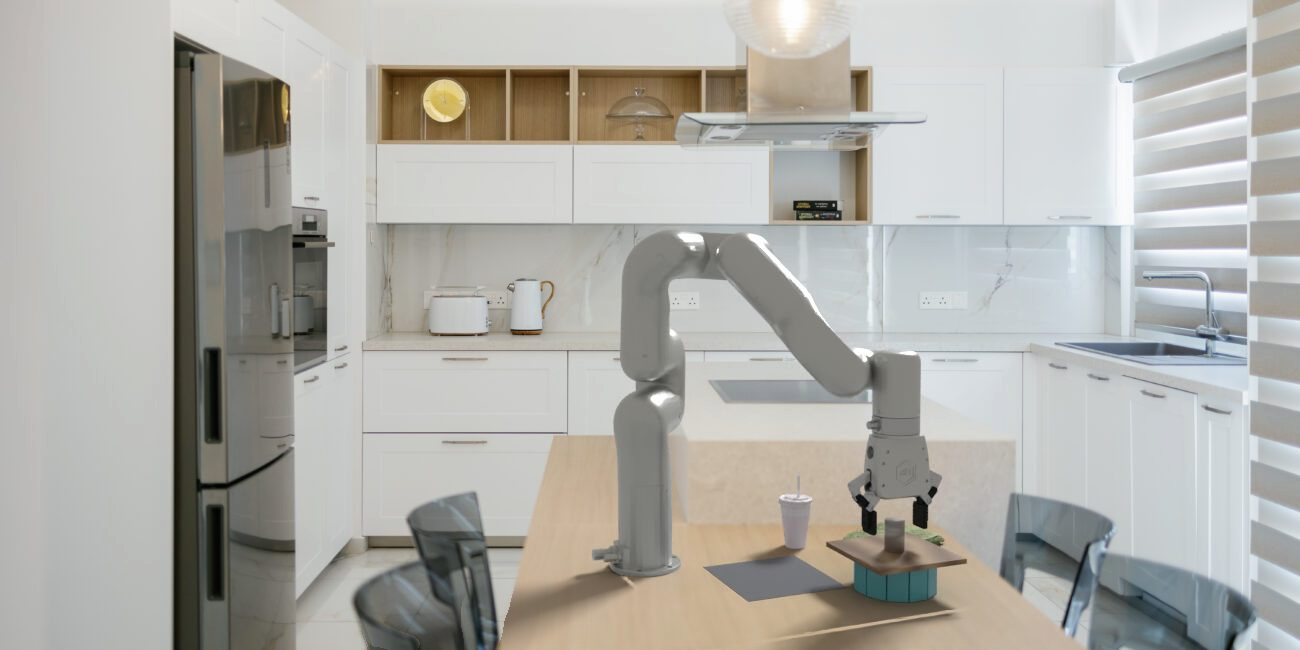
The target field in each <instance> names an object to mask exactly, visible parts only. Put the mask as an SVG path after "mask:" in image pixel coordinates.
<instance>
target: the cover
mask: <svg viewBox="0 0 1300 650" xmlns="http://www.w3.org/2000/svg"><path fill="white" fill-rule="evenodd" d="M884 522H885V531H884V535H876V536H868V537H860V538H852V539H844V540H843V539H838V540H837V539H836V540H829V541H826V542H825V547H827V548H828V549H830V550H832V551H834V552H835V553H838V554H840V555H841V556H843V557H845V558H847V559H848V560H850V561H852V562H853V563H854V562H856V563H858V564H859V565H861V566H863V567H865V568H867V569H869V570H870V571H872V572H874V573H876V574H878V575H880V576H883V575H890V574H897V573H905V572H912V571H919V570H926V569H933V568H937V569H938V568H946V567H953V566H961V565H967V564H968V558H966V557H964V556H962V555H959V554H957V553H955V552H953V551H951V550H949V549H946V548H944V547H942V546H939V545H935V544H933V543H931V542H928V541H926V540H924V539H922V538H919V537H917V536H915V535H913V534H911V533H908V532H905V526H906V525H905V524H906V520H905V519H904V518H901V517H895V516H890V517H885V518H884Z"/></svg>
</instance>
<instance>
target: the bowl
mask: <svg viewBox="0 0 1300 650" xmlns="http://www.w3.org/2000/svg"><path fill="white" fill-rule="evenodd" d="M852 576H853V579H852V580H853V588H854V589H853V590H855V591H856V592H858V593H860V594H862V595H863V596H864V597H868V598H872V599H876V600H880V601H883V602H886V601H887V602H896V603H914V602H915V603H916V602H920V601H922V602H923V601H926V600H929V599H931V598H932V597H933V596H935V595H937V593H938V591H937V590H938V568H933V569H926V570H919V571H912V572H905V573H897V574H890V575H883V576H880V575H878V574H876V573H874V572H872V571H870V570H869V569H867V568H865V567H863V566H861V565H859V564H858V563H856V562H854V561H853V575H852Z"/></svg>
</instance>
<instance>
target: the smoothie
mask: <svg viewBox="0 0 1300 650" xmlns="http://www.w3.org/2000/svg"><path fill="white" fill-rule="evenodd" d="M796 476H797V477H796V483H797V484H796V493H787V494H782V495H780V496H778V504H779V505H780V514H781V521H782V530H783V538H784V546H785V548H788V549H791V550H802V549H805V548H806V546H807V539H808V530H809V522H810V517H811V507H812V505H813V503H814V502H813V501H814V500H813V497H812V496H810V495H807V494H802V493H801V474H797V475H796Z"/></svg>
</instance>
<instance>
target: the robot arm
mask: <svg viewBox="0 0 1300 650" xmlns="http://www.w3.org/2000/svg"><path fill="white" fill-rule="evenodd" d="M683 279H697V280H698V279H699V280H714V281H727V282H728V283H729V284H730V285H731V286H732V287H733V289H735V290H736V291H737V292H738V293H739V294H740V295H741V297H743V298H744V299H745V301H746V302H747V303H748V304H749V305H750V306H751V307H752V308H753V310H755V312H756V313H758V315H759V316H761V318H763V320H764V321H765V322H766V323H767V324H768V325H769V326H770V328H771V329H772V330H773V332H774V333H775V335H776V336H777V337H778V338H779V340H780V341H781V342H782V343H783V345H785V347H786V348H787V350H789V352H790V353H791V355H792V356H793V357H794V359H796V361H797V362H798V363H799V364H800V365H801V366H802V368H803V369H804V370H806V371H807V373H808V374H809V375H810V376H811V377H812V378H813V379H814V381H816V383H818V384H819V385H820V386H821V387H822V388H823V389H824V390H825V391H826V392H827V393H829V394H830V395H832V396H834V397H835V398H839V399H852V398H854V397H857V396H859V395H860V394H861V393H862V392H863V391H872V401H871V402H872V403H871V404H872V408H871V409H872V410H871V411H872V415H871V420H868V421H866V424H865V425H866V429H867V430H871V434H868V439H867V443H866V447H865V448H866V449H865V454H864V455H865V456H864V463H863V464H864V465H863V472H862V473H861V474H859V475H858V476H857V477H855V478H853V479H852V480H851V481H850V482H848V483H847V488H848V489H847V490H848V491H849V494H850V495H851V498H852V500H853V501H854V502H855V503H856V504H857V505H858V507H859V508H861V520H860V521H861V522H860V523H861V528H862V529H861V530H863V531H864V532H866V533H868V534H870V535H872V536H873V535H876V534H877V524H878V512H877V511H876V510H875V508H876V506H877V505H878V504H879V502H880V501H881V500H883V501H884V500H885V501H887V500H896V499H897V500H898V499H908V498H915V500H913V503H912V526H915V527H918V528H921V529H924V530H927V529H928V524H929V523H928V521H929V505H931V504H932V503H933V498H934V497H935V496H936V494H937V493H938V491H939V490H938V488H939V486H940V484H941V482H942V479H943V477H942V474H939V473H937V472H935V471H933V470H931V469H930V458H929V452H928V451H929V450H928V444H927V441H926V437H925V434H924V433H921V392H922V391H921V389H922V387H921V386H922V385H921V384H922V383H921V380H922V377H921V376H922V373H921V371H922V362H921V361H922V359H921V357H920V354H919V353H918V352H915V351H914V350H908V349H884V350H877V349H868V348H863V347H856V346H849V345H848V344H847V343H845V342H844V340H843V339H842V338H841V337H840V336H839V335H838V334H837V333H836V332H835V331H834V329H833V328H832V327H831V326H830V325H829V324H828V322H827V321H826V320H825V319H824V317H823V316H822V315H821V313H820V311H819V309H818V308H817V306H816V303H815V300H814V299H813V296H812V294H811V293H810V292H809V290H808V289H807V288H806V287H805V286H804V285H803V284H802V283H801V282H800V281H799V280H798V278H796V277H795V276H794V275H793V274H792V272H790V271H789V269H788V268H787V267H785V265H784V264H782V262H780V260H779V259H778V258H777V257H776V256H775V255H774V252H773V248H772V246H771V244H770V243H769V242H768V240H766V239H765V238H764V237H762V236H761V235H759V234H756V233H752V232H744V231H742V232H735V233H727V232H726V233H721V232H706V231H705V232H704V231H692V230H683V229H676V228H675V229H674V228H673V229H664V230H660V231H657V232H654V233H652V234H650V235H648V236H646V237H645V238H643V239H642V240H640V241H639V242H638V243H637V244H636V245H635V246H634V247H633V248H632V250H631V251H630V252H629V253H628V256H627V257H626V259H625V261H624V264H623V269H622V275H621V304H620V306H621V307H620V308H621V310H620V339H619V340H620V343H619V344H620V346H619V360H620V361H619V362H620V366H621V369H622V371H623V373H624V374H625V376H626V377H628V378H629V379H630V380H632V381H635V391H632V392H630V393H628V394H627V395H626V396H624V398H622V399H621V400H620V402H619V403H618V404H617V406H616V409H615V411H614V416H613V423H612V424H613V435H614V441H615V449H616V460H617V461H616V462H617V469H616V470H617V506H618V507H617V511H618V512H617V516H618V517H617V521H618V522H617V523H618V527H617V528H618V533H617V534H618V539H617V540H616V539H615V540H613V545H609V546H608V548H603V547H602V548H595V549H594V548H593V549H592V550H591V558H592V560H593V561H601V560H602V561H603V563H609V568H610V569H611V571H612V572H614V573H615V574H618V575H621V576H622V577H623V576H625V577H627V576H630V577H642V578H644V577H646V578H647V577H650V578H651V577H660V576H664V575H668V574H671V573H675V572H676V571H678V570H679V569H681V566H682V560H681V558H680V557H679V556H678V555H676V554H675V553H673V512H672V511H673V504H672V503H673V500H672V499H673V495H672V492H673V491H672V490H673V489H672V488H673V486H672V485H673V484H672V483H673V481H672V457H671V450H670V443H669V434H670V433H672V432H674V430H676V429H677V428H678V427H679V425H680V424H681V423H682V421H683V417H684V414H685V407H686V405H685V404H686V403H685V402H686V350H685V346H684V342H683V340H682V338H681V336H680V335H679V334H678V333H677V332H676V331H675V330H674V329H672V328H671V327H670V312H671V307H670V306H671V304H670V301H671V300H670V295H669V287H670V283H671V282H672V281H674V280H683ZM862 487H863V489H864V493H863V494H862V491H861V488H862Z"/></svg>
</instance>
